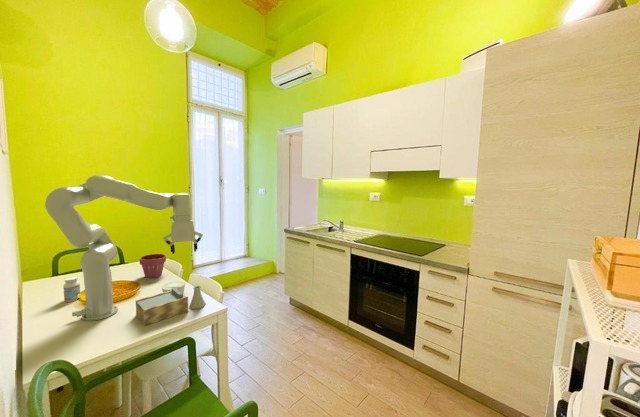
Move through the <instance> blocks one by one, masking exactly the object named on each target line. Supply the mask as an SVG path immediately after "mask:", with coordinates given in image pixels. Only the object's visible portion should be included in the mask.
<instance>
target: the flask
mask: <svg viewBox="0 0 640 417" xmlns="http://www.w3.org/2000/svg"><path fill="white" fill-rule="evenodd" d="M201 288H202V286H200V285H195V286H193V295H192V298H191V302H190V303H189V305H188V309H192V310H199V309H201V308H203V307H205V306H206V304H207V303H206V301H205V300H204V298H203V295H202V292H201Z"/></svg>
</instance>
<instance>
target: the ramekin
mask: <svg viewBox="0 0 640 417" xmlns="http://www.w3.org/2000/svg"><path fill="white" fill-rule="evenodd" d="M185 286H186V284H185V282H184V281H171V282H168V283H165V284H163V285H162V286H161V290H162V293H164V292H168V291H171V290H172V288H176V289H178V290H179V291H180V292H181V293H182V294H183V295H184V292H185Z"/></svg>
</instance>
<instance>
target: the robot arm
mask: <svg viewBox="0 0 640 417" xmlns="http://www.w3.org/2000/svg"><path fill="white" fill-rule="evenodd" d="M102 197H106V198H111V199H115V200H120V201H123V202H125V203H128V204H133V205H135V206H139V207H143V208H146V209H149V210H150V209H151V210H154V211H164V210H166V209H168V208H169V209H170V208H172V216H169V220H172V221H171V229H170V230H171V231H170V233H169V234H167V235H164V236H163V238H162V239H163V240H164V242H165V243H166V244H167V245H169V247H170V253H172V255H174V254H175V253H176V251H175V250H176V249H175V243H183V242H193V250H194V251H193V252H195V253H196V252H197V250H198V243H199V242H200V241H201V240H202V238H203V233H200V232H199V231H198V232H197V231H196V230H195V225H194V221H193V219H192V214H191V202H190V200H191V199H190V195H189V193H185V192H180V193H179V192H178V193H168V192H160V193H158V192H154V191H150V190H146V189H142V188H140V187H138V186H137V185H136V184H133V183H131V182H127V181H123V180H119V179H115V178H114V177H112V176H109V175H105V174H103V175H101V174H100V175H99V174H95V175H92V176H89V177H88V178H87V179H86V180H85V182H84V183H82V184H79V185H75V186H74V185H72V186H70V185H69V186H67V185H66V186H62V187H58V188H55V189H53V190H52V191H51V192H49V194H48V195H47V196H46V198H45V202H44V205H45V206H44V207H45V209H46V212H47V213H48V215H49V216H50V218H52V220H53V221H54V222H55V224H56V226H57V227H59V229H60V230H61V232H62V234H63V235H64V237H65V238H66V239H67V240H68V242H69V243H70V245H71V246H72V247H74V248H78V249H84V248H87V247H88V249H87V250H86V251H85V252H84V253H83V254H82V256H81V257H80V259H79V260H80V267H81V270H82V274H83V283H84V284H83V285H84V296H85V298H84V299H85V306H84V308H81V309H79V310H76V311H72V312H71V316H72V317H76V318H79V317H81V319H82V320H83V321H85V322H91V321H92V322H93V321H99V320H103V319H106V318H108V317H112V316H113V315H114V314H116V313H117V312H118V311H119V310H118V306H117V305H114V297H113V296H114V295H113V294H114V293H113V279H112V271H111V268H110V263H111V262H112V261H113V260H114V259H116V258H117V255H118V251H119V250H118V248H117V246H116V244H115V243H114V241H113V240H112V238H111V237H110V236H109V234H108V233H107V231H106V230H105V229H104V228H103V227H102V226H101V225H99V224H96V223H88V222H87V221H86V220H85V219H84V217H83V216H82V214H81V213H80V212H79V211H77V209H75V207H74V206H80V205H85V204H88V203H91V202H93V201H95V200H97V199H100V198H102ZM196 236H198V238H195V237H196ZM169 238H170V240H171V241H170V240H169Z"/></svg>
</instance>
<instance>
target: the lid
mask: <svg viewBox="0 0 640 417" xmlns="http://www.w3.org/2000/svg"><path fill="white" fill-rule="evenodd" d="M183 297H187V296H186V295H185V294H184V293H183V294H182V293H181V292H180V291H179V290H177V289H176V288H172V292H171V293H167V294H164V295H160V296H156V297H153V298H149V299H146V300H142V301H138V302H137V304H138V305H139V306H140V307H141V308H142V310H143V309H147V308H150V307H153V306H157V305H160V304H163V303H167V302H170V301H173V300H177V299H180V298H183Z"/></svg>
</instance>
